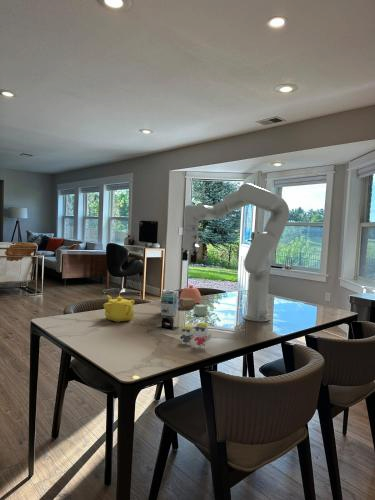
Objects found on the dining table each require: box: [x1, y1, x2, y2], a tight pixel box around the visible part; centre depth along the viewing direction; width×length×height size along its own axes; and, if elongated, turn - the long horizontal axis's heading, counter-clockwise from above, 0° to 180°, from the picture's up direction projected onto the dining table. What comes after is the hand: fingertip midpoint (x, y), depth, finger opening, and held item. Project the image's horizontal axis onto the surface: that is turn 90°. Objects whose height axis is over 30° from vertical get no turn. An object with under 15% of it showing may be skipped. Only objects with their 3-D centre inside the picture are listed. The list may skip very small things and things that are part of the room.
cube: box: [193, 304, 208, 317], centre depth 176 cm, size 4×4×4 cm
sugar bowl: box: [179, 284, 202, 305], centre depth 204 cm, size 12×14×10 cm
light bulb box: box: [160, 289, 180, 317], centre depth 175 cm, size 11×7×11 cm, turn 171°
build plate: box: [154, 316, 180, 331], centre depth 150 cm, size 12×7×5 cm, turn 63°
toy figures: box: [179, 322, 212, 350], centre depth 128 cm, size 12×4×8 cm, turn 56°
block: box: [178, 297, 195, 311], centre depth 190 cm, size 6×6×5 cm
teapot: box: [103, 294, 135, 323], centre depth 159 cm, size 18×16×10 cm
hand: (189, 261), depth 189 cm, fingers open, 9 cm apart
